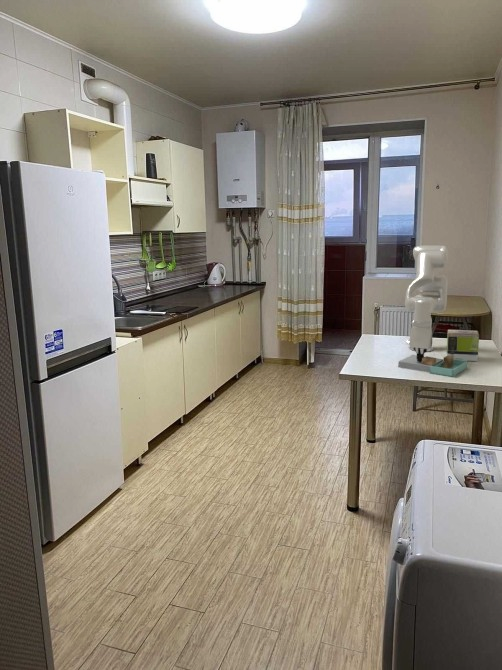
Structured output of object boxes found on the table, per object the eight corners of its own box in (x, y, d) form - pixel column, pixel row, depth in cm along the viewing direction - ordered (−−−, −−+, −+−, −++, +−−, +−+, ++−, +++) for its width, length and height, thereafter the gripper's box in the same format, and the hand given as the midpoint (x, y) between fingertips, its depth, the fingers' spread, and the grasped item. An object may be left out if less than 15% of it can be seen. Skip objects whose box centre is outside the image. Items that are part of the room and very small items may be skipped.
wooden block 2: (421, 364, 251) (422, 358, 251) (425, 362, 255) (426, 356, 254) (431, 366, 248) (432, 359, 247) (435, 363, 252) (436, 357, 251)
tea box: (476, 357, 274) (478, 330, 271) (477, 362, 265) (479, 333, 262) (446, 355, 279) (447, 328, 276) (446, 360, 270) (448, 332, 267)
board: (398, 367, 258) (398, 361, 257) (412, 360, 271) (412, 354, 270) (429, 372, 248) (430, 366, 247) (442, 365, 260) (443, 359, 260)
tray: (429, 373, 246) (429, 366, 246) (444, 364, 261) (445, 357, 260) (452, 377, 239) (453, 369, 239) (467, 368, 254) (467, 361, 253)
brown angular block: (443, 357, 253) (449, 358, 251) (447, 355, 257) (453, 356, 255) (443, 367, 254) (449, 368, 252) (446, 365, 258) (452, 366, 256)
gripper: (403, 324, 252) (402, 360, 256) (434, 327, 243) (431, 365, 247) (410, 321, 258) (408, 357, 262) (440, 325, 248) (437, 362, 252)
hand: (420, 361), depth 254 cm, fingers closed
